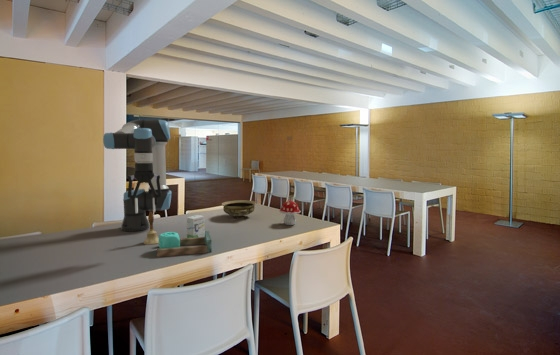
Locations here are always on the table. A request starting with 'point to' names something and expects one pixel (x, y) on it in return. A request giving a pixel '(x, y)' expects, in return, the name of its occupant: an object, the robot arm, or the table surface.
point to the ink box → (195, 226)
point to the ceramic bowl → (239, 208)
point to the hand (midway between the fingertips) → (145, 212)
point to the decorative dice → (169, 240)
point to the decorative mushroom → (289, 212)
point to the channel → (190, 249)
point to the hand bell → (151, 232)
